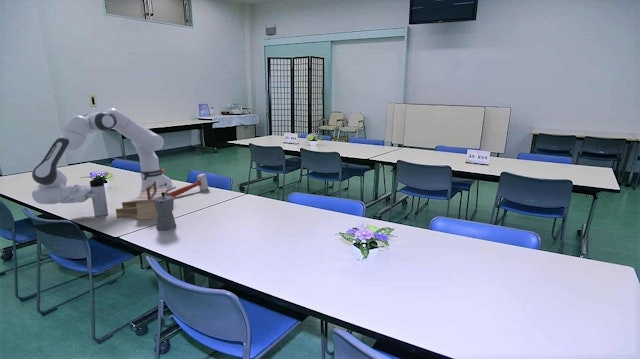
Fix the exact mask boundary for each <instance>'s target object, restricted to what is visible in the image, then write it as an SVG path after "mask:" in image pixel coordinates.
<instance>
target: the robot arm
mask: <svg viewBox="0 0 640 359" xmlns="http://www.w3.org/2000/svg"><path fill="white" fill-rule="evenodd" d="M112 129H114V130H115V131H116V132H117V133H119V134H121V135H122V136H124V137H125V138H127V139H129V140H131V141H130V142H131V143H132V145H133V146H134V148H135V150H136V153H137V155H138V157H139V162H140V164H139V165H140V178H141V187H140V192H142V191H143V190H144V189H147V188H148V186H149V185H150V184H151V182H152V181H153V180H156V188H157V189H159V188H168V191H169V190H172V189H173V190H174V189H175V188H177V186H176V185H175V184H173V183H172V182H173V181H172V180H171V178H170V177H168V176H167V175H165V174H163V173H165V172H166V170H165V169H164V168H163V169H160V163H159V162H160V161H159V157H158V156H157V154H156V153H155V151H158V150H160V149H162V148H163V146H164V143H165V141H164V139H163V136H162V135H159V134H157V133H155V132H153V131H152V130H150V129H149V128H147V127H145V126H143V125H141V124H139V123H138V122H137V121H135V120H134V119H132V118H131V117H130V116H128V115H127V114H125V113H123V112H122V111H120V110H119V109H116V108H109V109H106V110H105V111H101V112H93V113H89V114H84V115H83V116H82V115H73V116H71V118H70V119H69V120H68V121H67V123H66V124H65V126H64V128H63V129H62V131H61V134H60V135H59V136H58V138H57V139H55V141H54V142H53V143H52V144H51V146H50V148H49V149H48V151H47V153H46V154H45V156H44V158H43V159H42V160H41V161H40V163H38V165H36V166H35V167H34V168H33V170H32V172H31V177H32V179H33V181H34V182H36V183H37V184H38V185H37V186H36V187H35V188H34V189H33V190H32V193H31V195H32V196H31V197H32V199H33V200H34V202H36V203H37V204H39V205H57V204H75V203H85V202H86V201H88V199H92V198H93V197H98V196H99V195H98V193H94V194H91V187H90V184H89V185H80V184H74V185H67V180H68V178H67V175H66V174H64V173H63V172H62V171H60V170H58V165H59V164H60V161H61V160H62V159H63V157H64V155H65V153H66V152H68V151H69V152H70V151H72V152H73V151H77V150H78V151H79V150H80V149H81V148H82V147H83V145H84V144H85V142H86V140H87V137H88V134H89V133H91V134H92V133H102V132H108V131H110V130H112ZM151 189H154V186H152V188H151Z"/></svg>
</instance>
